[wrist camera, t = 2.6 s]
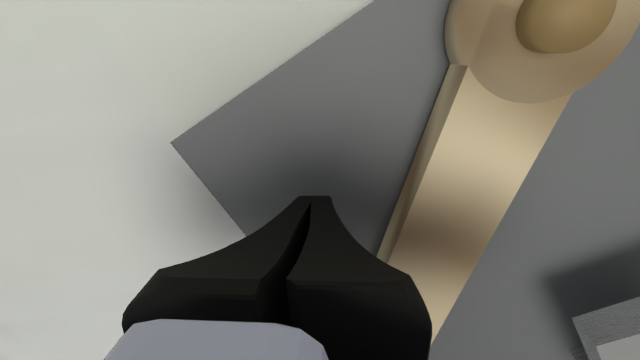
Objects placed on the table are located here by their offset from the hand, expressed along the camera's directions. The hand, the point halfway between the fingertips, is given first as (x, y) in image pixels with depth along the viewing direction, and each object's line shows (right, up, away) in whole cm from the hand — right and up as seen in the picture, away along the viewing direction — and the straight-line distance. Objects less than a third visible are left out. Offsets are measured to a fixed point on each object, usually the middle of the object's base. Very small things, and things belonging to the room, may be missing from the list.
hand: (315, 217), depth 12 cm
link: (+5, +1, 0) cm, 5 cm away
